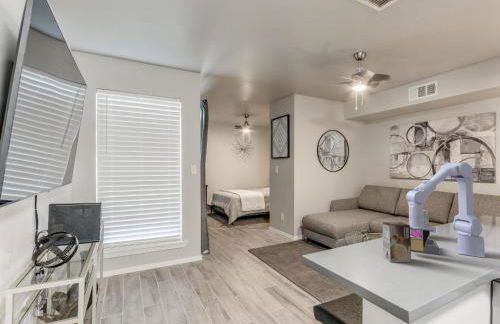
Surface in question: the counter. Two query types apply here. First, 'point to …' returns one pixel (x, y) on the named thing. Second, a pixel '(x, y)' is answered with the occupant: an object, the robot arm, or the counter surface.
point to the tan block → (416, 244)
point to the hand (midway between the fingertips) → (416, 245)
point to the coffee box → (396, 242)
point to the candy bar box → (426, 223)
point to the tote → (429, 247)
